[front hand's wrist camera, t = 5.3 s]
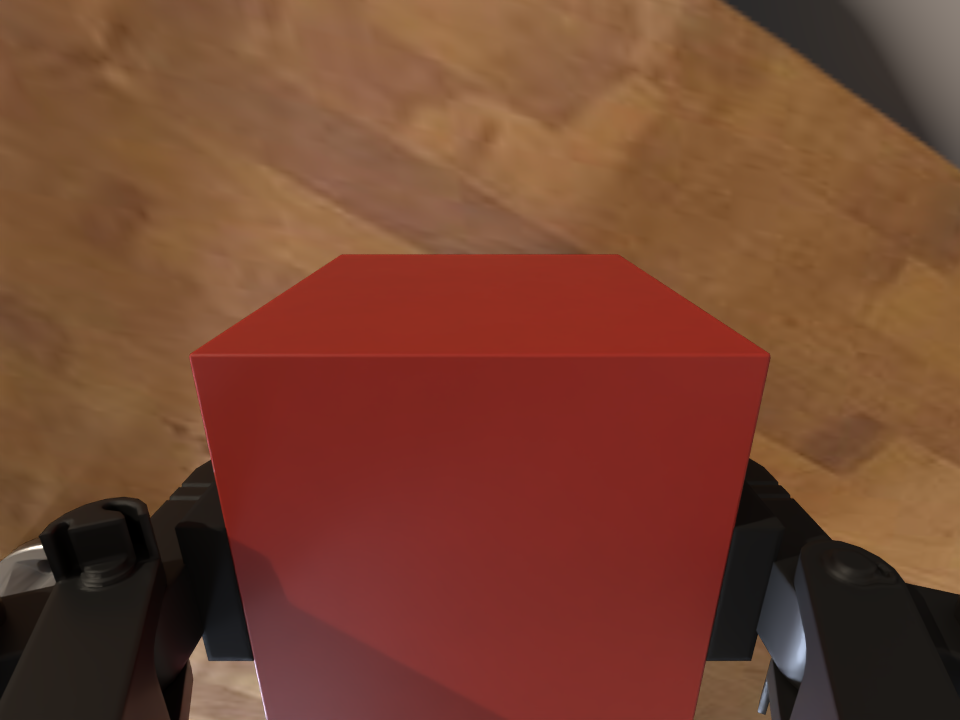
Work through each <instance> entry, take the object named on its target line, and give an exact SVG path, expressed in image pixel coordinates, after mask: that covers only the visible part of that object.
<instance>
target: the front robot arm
mask: <svg viewBox="0 0 960 720" xmlns="http://www.w3.org/2000/svg"><path fill="white" fill-rule="evenodd" d="M758 635H759V636H760V638H761V640H762V641H763V643H764V645H765V646H766V648H767V650H768V652H769V653H770V655H771V657H772V658H771V661H770V665H769V669H768V672H767V676H766V679H765V683H764V687H763V690H762V694H761V698H760V702H759V708H758V712H759V713H762V714H765V715H766V711H767V707H768V704H769V702H770V710H771V718H772V720H960V595H959V594H954V593H949V592H945V591H940V590H935V589H931V588H926V587H922V586H917V585H912V584H908V583H905V582H904V580H903V579H902V578H901V577H900V575H899V574H898V573H897V571H896V570H895V569H894V568H893V567H892V566H890V565H889V564H888V563H886V562H885V561H884V560H883V559H881V558H880V557H878V556H876V555H874V554H872V553H870V552H869V551H867V550H865V549H863V548H861V547H858V546H855V545H851V544H848V543H845V542H842V541H835V540H832V539H831V538H830V537H829V536H828V535H827V534H826V533H825V532H824V531H823V530H822V529H821V528H820V526H819V525H818V524H817V523H816V522H815V521H814V520H813V519H812V518H811V517H810V516H809V515H808V514H807V513H806V511H805V510H804V509H803V508H802V507H801V506H800V505H799V504H798V503H797V502H796V501H795V500H794V499H793V498H790V494H789V493H788V492H787V491H786V490H785V489H784V488H783V487H782V486H781V485H778V482H777V480H776V479H775V478H774V477H773V476H772V475H771V474H770V473H769V472H768V471H767V470H766V469H765V468H764V467H763V466H761V465H760V464H758V463H756V462H755V461H753V460H751V459H750V458H749V461H748V465H747V470H746V475H745V480H744V484H743V489H742V494H741V498H740V503H739V508H738V512H737V517H736V522H735V526H734V530H733V535H732V539H731V544H730V549H729V553H728V558H727V563H726V568H725V572H724V577H723V582H722V586H721V591H720V596H719V600H718V605H717V610H716V615H715V619H714V624H713V629H712V633H711V638H710V643H709V647H708V652H707V657H706V661H751V659H752V655H753V651H754V647H755V643H756V640H757V636H758ZM201 637H203V641H204V645H205V649H206V653H207V657H208V661H254V658H253V653H252V649H251V644H250V639H249V635H248V630H247V625H246V621H245V616H244V611H243V607H242V602H241V597H240V593H239V588H238V583H237V578H236V574H235V569H234V564H233V560H232V555H231V550H230V546H229V541H228V536H227V532H226V527H225V522H224V518H223V513H222V508H221V503H220V499H219V494H218V489H217V485H216V480H215V475H214V471H213V466H212V461H211V460H210V461H208V462H206V463H205V464H203V465H201V466H200V467H198V468H197V469H195V470H194V472H193V473H192V474H191V475H190V476H189V477H188V478H187V479H186V480H185V481H184V482H183V483H182V487H179V488H178V489H177V490H176V491H175V492H174V493H173V494H172V495H171V496H170V500H167V501H166V502H165V503H164V504H163V505H162V506H161V507H160V508H159V509H158V510H157V511H156V512H155V514H154V515H153V516H152V517H151V518H150V515H149V512H148V508H147V505H146V504H145V503H143V502H142V501H141V500H139V499H135V498H128V497H119V498H109V499H104V500H100V501H96V502H93V503H89V504H86V505H83V506H81V507H79V508H77V509H74V510H72V511H70V512H68V513H66V514H64V515H63V516H61V517H60V518H58V519H57V520H55V521H54V522H52V523H51V524H49V525H48V526H47V527H46V529H45V530H44V531H43V532H42V533H41V534H40V535H39V538H37V539H34V540H31V541H29V542H27V543H25V544H23V545H21V546H19V547H18V548H17V549H15V550H14V551H13V552H11V553H10V554H9V555H8V556H7V557H5V558H4V559H3V560H2V561H1V562H0V720H189V711H190V703H191V694H192V686H193V675H192V669H191V665H190V661H189V657H190V655H191V654H192V652H193V650H194V649H195V647H196V645H197V644H198V642H199V640H200V638H201Z"/></svg>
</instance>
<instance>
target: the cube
mask: <svg viewBox="0 0 960 720" xmlns="http://www.w3.org/2000/svg"><path fill="white" fill-rule="evenodd" d="M189 358H190V363H191V368H192V372H193V377H194V382H195V386H196V391H197V396H198V400H199V405H200V410H201V414H202V419H203V424H204V428H205V433H206V438H207V443H208V447H209V452H210V457H211V461H212V466H213V471H214V475H215V480H216V485H217V489H218V494H219V499H220V503H221V508H222V513H223V518H224V522H225V527H226V532H227V536H228V541H229V546H230V550H231V555H232V560H233V564H234V569H235V574H236V578H237V583H238V588H239V593H240V597H241V602H242V607H243V611H244V616H245V621H246V625H247V630H248V635H249V639H250V644H251V649H252V653H253V658H254V663H255V668H256V672H257V677H258V682H259V686H260V691H261V696H262V700H263V705H264V710H265V714H266V719H267V720H693V719H694V714H695V709H696V705H697V700H698V695H699V691H700V686H701V681H702V677H703V672H704V667H705V663H706V657H707V652H708V647H709V643H710V638H711V633H712V629H713V624H714V619H715V615H716V610H717V605H718V600H719V596H720V591H721V586H722V582H723V577H724V572H725V568H726V563H727V558H728V553H729V549H730V544H731V539H732V535H733V530H734V526H735V522H736V517H737V512H738V508H739V503H740V498H741V494H742V489H743V484H744V480H745V475H746V470H747V465H748V461H749V456H750V451H751V447H752V442H753V437H754V433H755V428H756V423H757V419H758V414H759V409H760V404H761V400H762V395H763V390H764V386H765V381H766V376H767V372H768V367H769V362H770V354H769V353H768V352H766V351H765V350H763V349H762V348H760V347H759V346H757V345H755V344H754V343H752V342H751V341H749V340H748V339H746V338H745V337H743V336H742V335H740V334H739V333H737V332H736V331H734V330H733V329H731V328H730V327H728V326H727V325H725V324H723V323H722V322H720V321H719V320H717V319H716V318H714V317H713V316H711V315H710V314H708V313H707V312H705V311H704V310H702V309H701V308H699V307H698V306H696V305H695V304H693V303H691V302H690V301H688V300H687V299H685V298H684V297H682V296H681V295H679V294H678V293H676V292H675V291H673V290H672V289H670V288H669V287H667V286H666V285H664V284H663V283H661V282H659V281H658V280H656V279H655V278H653V277H652V276H650V275H649V274H647V273H646V272H644V271H643V270H641V269H640V268H638V267H637V266H635V265H634V264H632V263H631V262H629V261H627V260H626V259H624V258H623V257H621V256H620V255H618V254H477V255H340V256H338V257H337V258H335V259H334V260H332V261H331V262H329V263H328V264H326V265H325V266H323V267H322V268H320V269H319V270H317V271H316V272H314V273H313V274H311V275H310V276H308V277H307V278H305V279H303V280H302V281H300V282H299V283H297V284H296V285H294V286H293V287H291V288H290V289H288V290H287V291H285V292H284V293H282V294H281V295H279V296H278V297H276V298H275V299H273V300H271V301H270V302H268V303H267V304H265V305H264V306H262V307H261V308H259V309H258V310H256V311H255V312H253V313H252V314H250V315H249V316H247V317H246V318H244V319H243V320H241V321H240V322H238V323H236V324H235V325H233V326H232V327H230V328H229V329H227V330H226V331H224V332H223V333H221V334H220V335H218V336H217V337H215V338H214V339H212V340H211V341H209V342H208V343H206V344H204V345H203V346H201V347H200V348H198V349H197V350H195V351H194V352H192V353H191V354H190V357H189Z"/></svg>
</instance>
